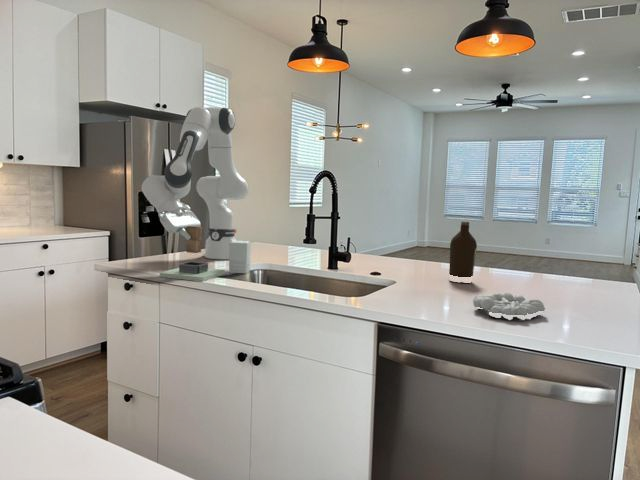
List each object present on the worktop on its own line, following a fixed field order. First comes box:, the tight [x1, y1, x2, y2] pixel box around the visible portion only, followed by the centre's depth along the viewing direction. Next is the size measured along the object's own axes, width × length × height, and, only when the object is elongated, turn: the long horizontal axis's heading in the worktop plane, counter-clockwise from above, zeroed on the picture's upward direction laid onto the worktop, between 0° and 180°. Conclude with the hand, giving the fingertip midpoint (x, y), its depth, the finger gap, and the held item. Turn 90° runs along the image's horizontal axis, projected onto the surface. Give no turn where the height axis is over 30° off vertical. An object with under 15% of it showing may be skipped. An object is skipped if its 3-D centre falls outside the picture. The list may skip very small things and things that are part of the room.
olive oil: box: [448, 221, 478, 277], centre depth 205 cm, size 11×11×25 cm
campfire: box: [472, 292, 546, 316], centre depth 155 cm, size 22×21×6 cm
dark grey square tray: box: [178, 261, 209, 274], centre depth 192 cm, size 8×8×3 cm
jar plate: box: [159, 267, 226, 282], centre depth 192 cm, size 18×18×2 cm
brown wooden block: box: [186, 226, 203, 254], centre depth 190 cm, size 4×4×10 cm
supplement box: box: [228, 240, 252, 274], centre depth 203 cm, size 7×7×13 cm
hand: (193, 238), depth 190 cm, fingers closed on brown wooden block, 4 cm apart
